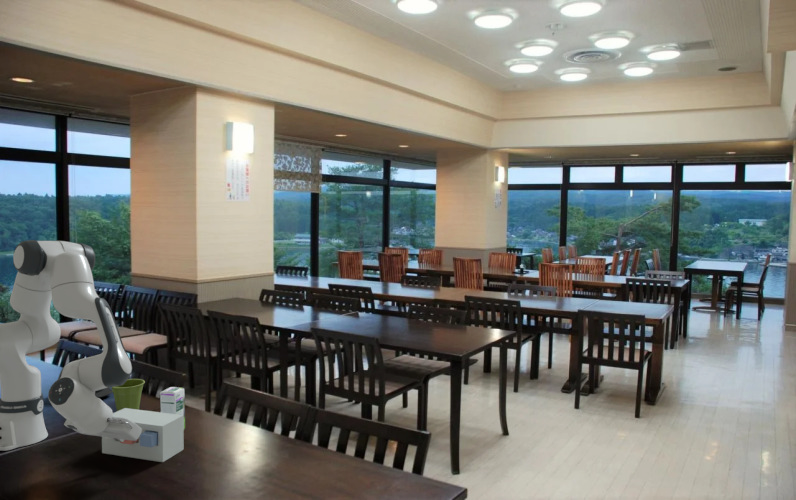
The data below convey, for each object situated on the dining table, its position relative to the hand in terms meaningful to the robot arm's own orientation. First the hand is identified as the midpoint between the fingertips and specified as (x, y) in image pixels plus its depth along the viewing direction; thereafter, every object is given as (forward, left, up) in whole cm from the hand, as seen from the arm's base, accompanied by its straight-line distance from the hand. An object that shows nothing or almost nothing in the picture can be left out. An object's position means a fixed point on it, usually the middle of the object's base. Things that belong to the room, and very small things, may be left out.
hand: (120, 439), depth 172 cm
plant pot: (-15, +45, -8) cm, 48 cm away
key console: (+3, +9, -7) cm, 12 cm away
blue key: (+8, +1, -2) cm, 8 cm away
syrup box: (+7, +26, -8) cm, 28 cm away
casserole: (-40, +66, -8) cm, 77 cm away
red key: (+1, +3, -2) cm, 4 cm away
